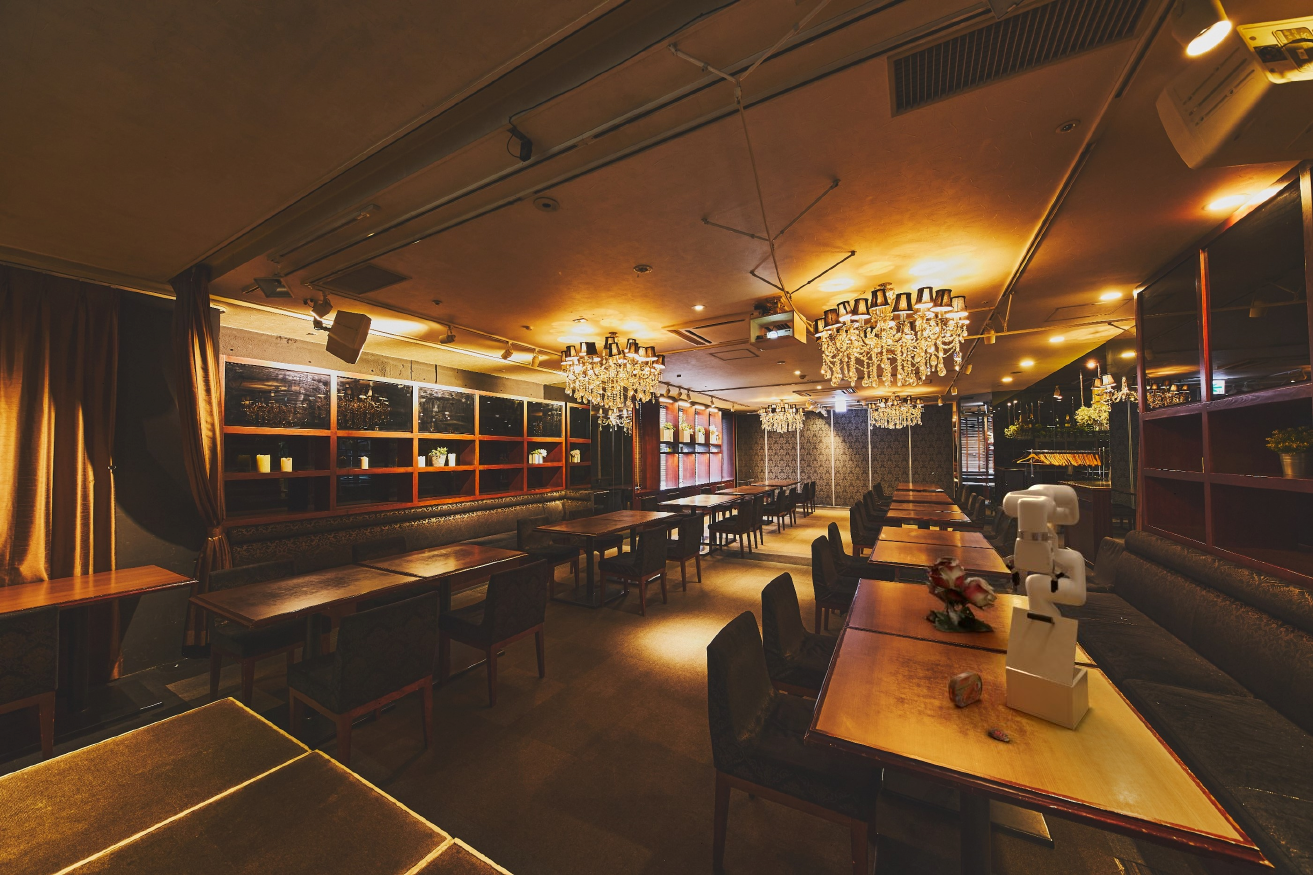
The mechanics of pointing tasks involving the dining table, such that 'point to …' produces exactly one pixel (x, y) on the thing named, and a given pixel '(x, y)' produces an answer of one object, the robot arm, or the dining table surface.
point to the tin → (965, 688)
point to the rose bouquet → (958, 597)
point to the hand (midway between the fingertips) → (1034, 588)
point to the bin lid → (1042, 645)
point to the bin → (1049, 696)
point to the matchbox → (998, 734)
